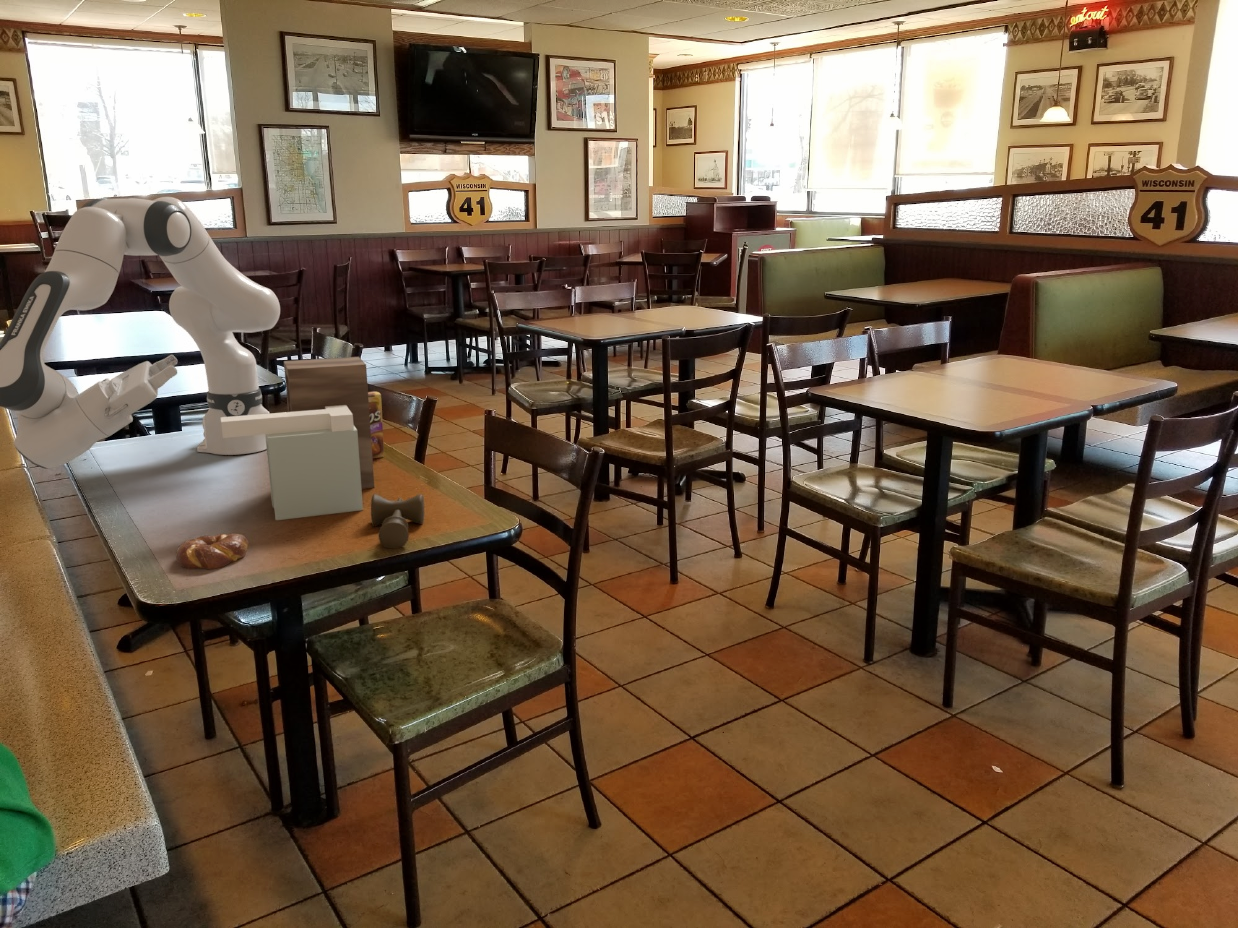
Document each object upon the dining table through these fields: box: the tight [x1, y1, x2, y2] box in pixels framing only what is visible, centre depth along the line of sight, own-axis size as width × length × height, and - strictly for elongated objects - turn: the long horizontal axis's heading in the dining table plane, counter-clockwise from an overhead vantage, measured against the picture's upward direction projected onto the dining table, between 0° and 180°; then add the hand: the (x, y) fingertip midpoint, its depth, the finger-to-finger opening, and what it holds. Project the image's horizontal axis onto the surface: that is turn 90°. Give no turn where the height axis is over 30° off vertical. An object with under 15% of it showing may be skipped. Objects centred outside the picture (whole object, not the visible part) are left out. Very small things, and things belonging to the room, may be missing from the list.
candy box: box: [368, 390, 385, 459], centre depth 217 cm, size 9×4×15 cm, turn 123°
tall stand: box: [283, 356, 375, 490], centre depth 195 cm, size 10×15×26 cm, turn 113°
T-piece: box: [221, 405, 354, 438], centre depth 178 cm, size 9×23×3 cm, turn 113°
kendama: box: [370, 493, 425, 549], centre depth 172 cm, size 6×10×20 cm
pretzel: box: [175, 533, 250, 570], centre depth 159 cm, size 12×11×4 cm
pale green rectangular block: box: [265, 426, 364, 521], centre depth 182 cm, size 10×16×16 cm, turn 113°
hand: (175, 363), depth 172 cm, fingers open, 8 cm apart
